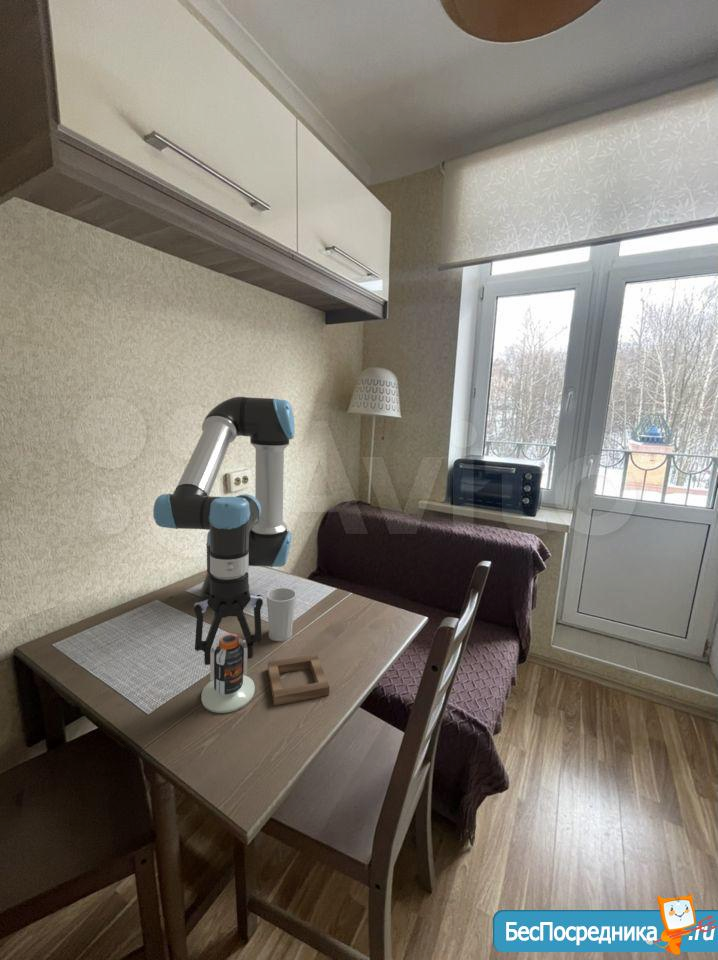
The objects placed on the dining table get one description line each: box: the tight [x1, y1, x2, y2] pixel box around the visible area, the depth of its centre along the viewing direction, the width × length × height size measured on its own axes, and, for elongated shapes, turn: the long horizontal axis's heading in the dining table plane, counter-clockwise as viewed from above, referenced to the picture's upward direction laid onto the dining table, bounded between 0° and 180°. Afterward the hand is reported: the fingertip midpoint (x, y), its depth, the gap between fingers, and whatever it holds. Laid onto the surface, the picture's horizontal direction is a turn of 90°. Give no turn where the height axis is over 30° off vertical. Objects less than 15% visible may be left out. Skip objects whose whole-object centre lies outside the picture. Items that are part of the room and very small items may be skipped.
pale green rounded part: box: [201, 675, 256, 714], centre depth 84 cm, size 11×11×1 cm
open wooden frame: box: [267, 654, 330, 706], centre depth 89 cm, size 12×12×2 cm
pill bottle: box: [214, 633, 244, 695], centre depth 82 cm, size 6×6×11 cm
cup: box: [266, 587, 297, 642], centre depth 106 cm, size 8×8×12 cm
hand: (228, 673), depth 83 cm, fingers closed on pill bottle, 6 cm apart
